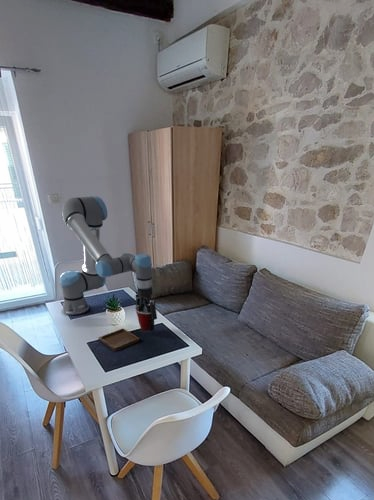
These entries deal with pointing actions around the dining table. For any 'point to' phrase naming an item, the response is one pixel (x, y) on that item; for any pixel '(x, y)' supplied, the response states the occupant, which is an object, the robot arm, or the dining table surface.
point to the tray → (119, 339)
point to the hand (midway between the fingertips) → (146, 327)
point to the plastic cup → (143, 318)
